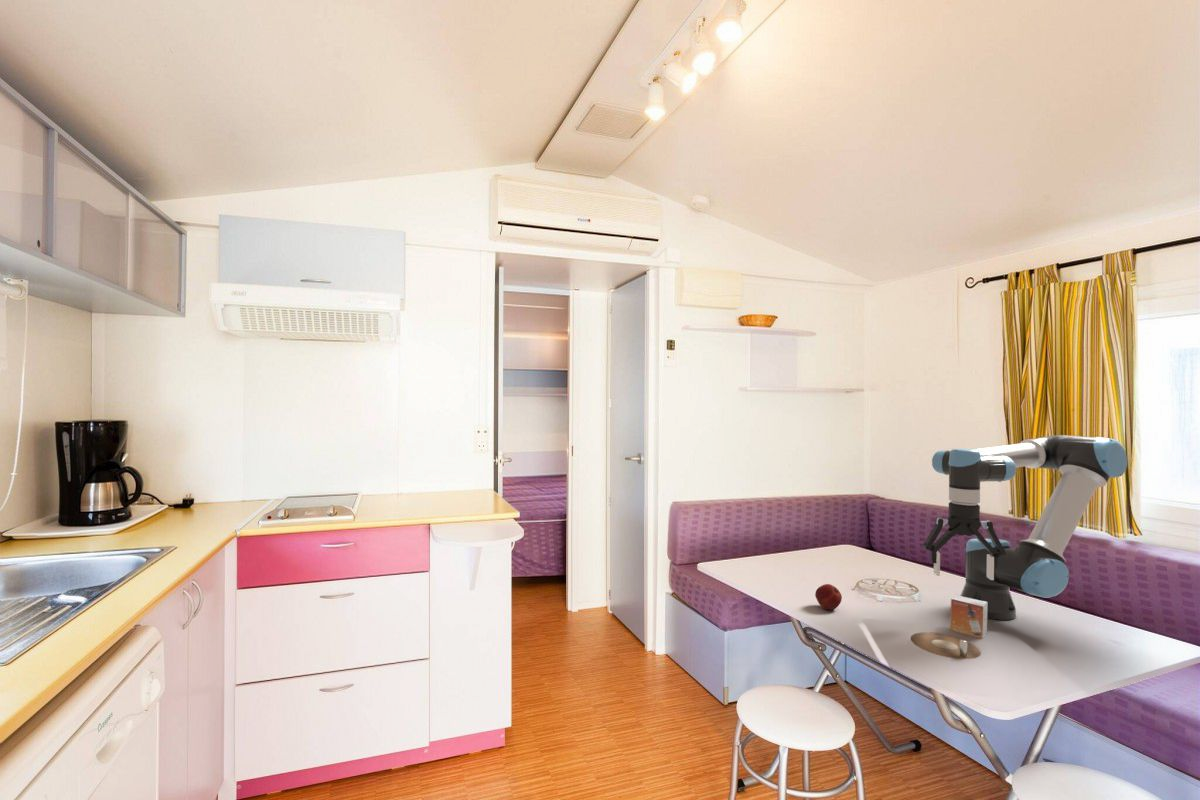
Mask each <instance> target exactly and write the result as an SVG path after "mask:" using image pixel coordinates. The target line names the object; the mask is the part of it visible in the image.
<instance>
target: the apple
mask: <svg viewBox="0 0 1200 800" xmlns="http://www.w3.org/2000/svg"><path fill="white" fill-rule="evenodd" d="M842 596H843V595H842V593H841V592H840V590H839V589H838V588H837V587H836V586H834V585H832V584H830V583H826V584H825V583H824V584H823V585H820V586H818V588H817V589H816V590H815V595H814V597H815V599H816V601H817V603H818V604H819V606H820V607H821V608H823V609H824V610H828V611H832V610H835V609H837V608H838V607H839V606H840V604H841V603H842V599H843V597H842Z"/></svg>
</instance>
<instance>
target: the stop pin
mask: <svg viewBox="0 0 1200 800" xmlns="http://www.w3.org/2000/svg"><path fill="white" fill-rule="evenodd" d="M967 642H968V641H967V640H966V639H962V638H960V656H961V657H964V658H967Z"/></svg>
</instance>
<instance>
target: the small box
mask: <svg viewBox="0 0 1200 800" xmlns="http://www.w3.org/2000/svg"><path fill="white" fill-rule="evenodd" d="M987 606H988V602H986V601H980V600H976V599H971V598H967V597H963V596H960V595H958V594H955V595H954V596H953V597H952V598H951V599H950V619H949V621H950V624H949V625H950V626H949V630H950V631H952V632H953V631H954V632H956V633H960V634H964V635H966V636H967V635H968V636H970V637H971V636H972V637H976V638H980V639H984V638H985V636H986V635H987V634H988V618H987Z"/></svg>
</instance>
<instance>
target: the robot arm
mask: <svg viewBox="0 0 1200 800" xmlns="http://www.w3.org/2000/svg"><path fill="white" fill-rule="evenodd" d="M931 466H932V468H933V470H934V471H935V472H936V473H937V474H943V475H946V476H948V501H950V502H948V513H947V514H948V517H947V518H942V517H939V516H937V517H936V518H935V523H934V525H933V528H932V529H931V531H930V532H929V534H928V536H927V538H926V539H925V541H924V543H923V544H922V547H923V548H924V549H926V551H929V552H930V553H929V557H930V558H929V559H930V563H932V564H933V574H934V575H936V577H937V576H941V553H940V552H939V550H940V549H941V548H943V547H944V545H946V544H947V543H948V542H949V541H950V540H951V539H952V537H955V536H956V535H957V536H967V537H972V536H974V537H975V538H971V539H968V540H967V542H966V547H965V583H964V586H963V589H962V591H961V593H960V595H959V596H963V597H967V598H971V599H976V600H980V601H986V602H988V606H987V619H991V620H992V619H993V620H999V621H1000V620H1002V621H1003V620H1007V621H1010V620H1013V619H1016V617H1017V608H1016V605H1015V602H1014V600H1013V596H1012V594H1011V592H1010V591H1011V590H1010V588H1012V589H1015V590H1018V591H1021V592H1024V593H1026V594H1027V595H1030V596H1036V597H1039V598H1044V599H1045V598H1046V599H1048V598H1049V599H1051V598H1053V597H1056V596H1058V595H1059V594H1061V593H1062V592H1063V591H1064V590H1065V589H1066V587H1067V585H1068V583H1069V575H1070V571H1069V569H1068V567H1067V565H1066V563H1067V560H1066V559H1065V557H1064V555H1063V553H1064V552H1065V550H1066V548H1067V546H1068V543H1069V542H1070V539H1071V538H1072V537H1073V534H1074V532H1075V530H1076V529H1077V526H1078V525H1079V523H1080V521H1081V519H1082V516H1083V515H1084V513H1085V511H1086V509H1087V508H1088V506H1089V503H1090V501H1091V499H1092V498H1093V495H1094V494H1095V492H1096V490H1097V489H1098V488H1103V487H1105V486H1106V485H1107V483H1108V481H1109V479H1110V478H1114V479H1115V478H1119V477H1121V476H1123V475H1125V473H1126V470H1127V466H1128V457H1127V452H1126V450H1125V448H1124V446H1123V445H1122V444H1121V443H1120V442H1119V441H1118V440H1116V439H1113V438H1110V437H1109V438H1107V437H1103V436H1096V437H1094V436H1079V435H1067V434H1059V435H1058V434H1056V435H1048V436H1042V437H1036V438H1035V437H1034V438H1029V439H1027V438H1026V439H1024V440H1022V441H1020V442H1019V443H1012V444H1005V445H995V446H989V447H988V446H986V447H980V448H952V449H951V450H938V451H936V452H935V453H933V456H932V458H931ZM1023 467H1025V468H1028V469H1047V470H1055V471H1059V472H1060V474H1061V477H1060V479H1059V481H1058V482H1057V484H1056V486H1055V488H1054V490H1053V491H1052V494H1051V496H1050V498H1049V499H1048V501H1047V503H1046V504H1045V506H1044V508H1043V510H1042V512H1041V514H1040V516H1039V518H1038V520H1037V521H1036V523H1035V525H1034V527H1033V529H1032V531H1031V533H1030V535H1029V537H1028V538H1026V539H1022V540H1020V541H1018V544H1017V545H1016V547H1015V548H1012V544H1011V542H1010V541H1009V540H1006V539H999V538H998V535H997V533H996V531H995V530H994V523H993V522H992V521H990V520H989V519H985V520H980V517H981V515H980V514H981V510H980V509H981V506H980V505H979V504H980V503H981V483H982V482H983V483H984V482H999V483H1001V482H1007V481H1010V480H1011V479H1013V478H1014V477H1015V475H1016V473H1017V468H1023ZM946 525H948V528H947V529H946V530H945V532H944V533H942V535H941V536H940V537H939V538H938V536H939V534H940V533H941V531H942V530H943V527H945V526H946ZM981 527H982V528H983V529H985V531H986V533H987V536H988V537H989V538H985V537H984V536H983V535H982V533H980V531H979V529H980V528H981ZM937 538H938V539H937ZM936 539H937V540H936Z"/></svg>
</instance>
